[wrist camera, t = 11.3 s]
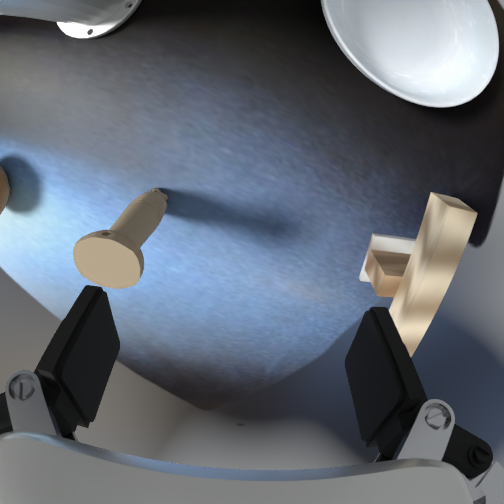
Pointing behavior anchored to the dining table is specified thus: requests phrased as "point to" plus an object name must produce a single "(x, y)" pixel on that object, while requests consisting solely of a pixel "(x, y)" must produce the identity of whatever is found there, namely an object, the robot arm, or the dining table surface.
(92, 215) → the dining table surface
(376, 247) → the wooden block on base
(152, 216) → the handle
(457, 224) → the beam
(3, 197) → the onion
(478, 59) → the serving bowl
